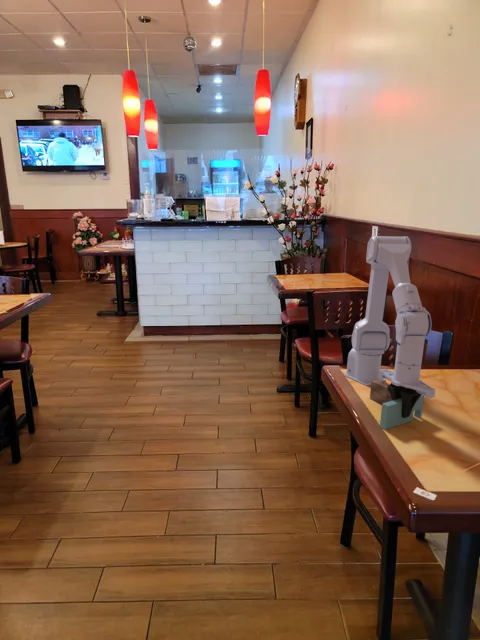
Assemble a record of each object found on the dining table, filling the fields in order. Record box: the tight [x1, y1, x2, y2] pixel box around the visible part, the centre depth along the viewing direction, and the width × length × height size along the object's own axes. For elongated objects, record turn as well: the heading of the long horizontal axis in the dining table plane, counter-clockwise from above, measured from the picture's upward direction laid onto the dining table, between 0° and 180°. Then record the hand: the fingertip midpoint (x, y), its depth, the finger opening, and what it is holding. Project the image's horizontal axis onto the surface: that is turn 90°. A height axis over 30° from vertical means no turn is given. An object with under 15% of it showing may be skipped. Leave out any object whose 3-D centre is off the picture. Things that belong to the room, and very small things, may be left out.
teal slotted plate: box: [379, 395, 425, 431], centre depth 110 cm, size 2×13×6 cm, turn 121°
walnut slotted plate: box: [369, 380, 392, 405], centre depth 119 cm, size 11×2×5 cm, turn 31°
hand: (401, 414), depth 110 cm, fingers closed on teal slotted plate, 2 cm apart
